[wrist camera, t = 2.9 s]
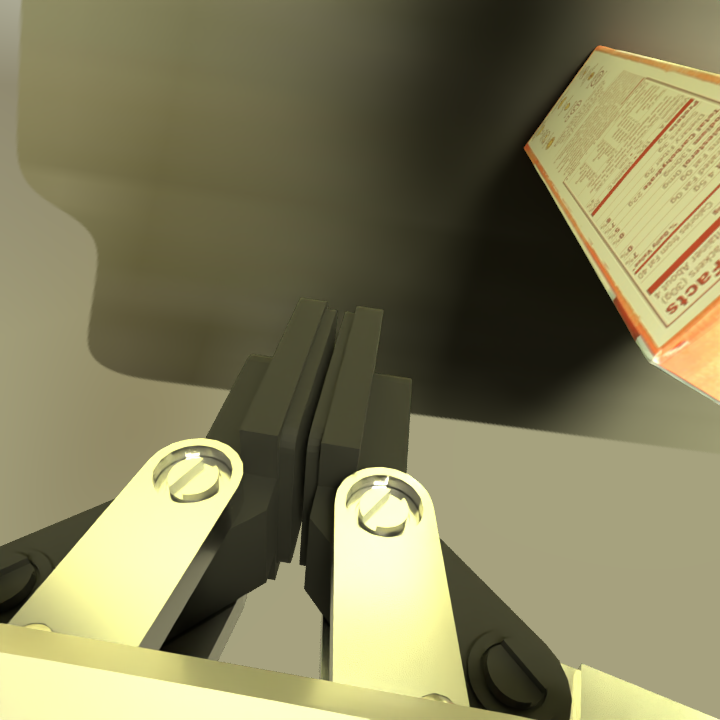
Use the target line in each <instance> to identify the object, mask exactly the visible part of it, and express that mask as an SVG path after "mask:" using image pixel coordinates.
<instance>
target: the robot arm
mask: <svg viewBox="0 0 720 720" xmlns="http://www.w3.org/2000/svg"><path fill="white" fill-rule="evenodd" d="M382 317H383V310H381V309H374V308H367V307H361V306H357V307H356V311H355V313H353V312H345V314H344V317H343V321H342V324H341V327H340V331H339V334H338V338H337V341H336V345H335V336H336V325H337V310H333V309H328V302H327V301H321V300H314V299H307V298H300V300H299V302H298V304H297V306H296V308H295V310H294V313H293V315H292V317H291V319H290V321H289V323H288V326H287V328H286V330H285V332H284V334H283V336H282V339H281V341H280V343H279V345H278V347H277V350H276V352H275V354H274V356H273V357H269V356H262V355H256V354H252V355H250V356H249V358H248V359H247V361H246V363H245V365H244V366H243V368H242V370H241V372H240V374H239V376H238V378H237V380H236V382H235V383H234V385H233V387H232V389H231V391H230V393H229V395H228V397H227V399H226V400H225V402H224V404H223V406H222V408H221V410H220V412H219V414H218V416H217V417H216V420H215V421H214V423H213V425H212V427H211V429H210V431H209V433H208V434H207V436H206V438H205V439H204V438H200V439H187V440H183V441H180V442H176V443H173V444H171V445H169V446H167V447H165V448H163V449H162V450H159V451H158V452H157V453H156V454H155V455H154V456H153V457H152V458H150V459H149V460H148V462H147V463H146V464H145V465H144V466H143V467H142V468H141V470H140V471H139V472H138V473H137V474H136V475H135V477H134V478H133V479H132V480H131V481H130V482H129V483H128V485H127V486H126V487H125V488H124V489H123V490H122V492H121V493H120V494H119V495H118V496H117V497H116V499H113V500H111V501H108V502H106V503H104V504H101V505H99V506H96V507H94V508H92V509H89V510H87V511H84V512H82V513H80V514H77V515H75V516H72V517H70V518H68V519H65V520H63V521H60V522H58V523H55V524H53V525H51V526H48V527H46V528H43V529H41V530H39V531H37V532H34V533H31V534H29V535H27V536H24V537H22V538H20V539H17V540H15V541H12V542H10V543H7V544H5V545H3V546H0V720H719V719H717V718H715V717H712V716H710V715H707V714H704V713H702V712H700V711H697V710H695V709H692V708H690V707H688V706H685V705H682V704H680V703H678V702H675V701H673V700H670V699H668V698H665V697H663V696H660V695H658V694H655V693H653V692H650V691H648V690H646V689H643V688H641V687H638V686H636V685H633V684H631V683H628V682H626V681H623V680H621V679H618V678H616V677H614V676H611V675H609V674H606V673H604V672H601V671H599V670H596V669H594V668H592V667H589V666H587V665H584V664H581V665H580V666H579V668H578V669H575V668H572V667H569V666H567V665H565V664H562V663H560V662H559V660H558V659H557V658H556V656H555V655H554V654H553V653H552V651H551V650H550V649H549V648H548V646H547V645H546V644H545V643H544V642H543V641H542V640H541V639H540V638H539V637H538V636H537V635H536V634H535V633H534V632H533V631H532V630H531V629H530V628H529V627H528V626H527V625H526V624H525V623H524V622H523V621H522V620H521V619H520V618H519V617H518V616H517V615H516V614H515V613H514V612H513V611H512V610H511V609H510V608H509V607H508V606H507V605H506V604H505V603H504V602H503V601H502V600H501V599H500V598H499V597H498V596H497V595H496V594H495V593H494V592H493V591H492V590H491V589H490V588H489V587H488V586H487V585H486V584H485V583H484V582H483V581H482V580H481V579H480V578H479V577H478V576H477V575H476V574H475V573H474V572H473V571H472V570H471V569H470V568H469V567H468V566H467V565H466V564H465V563H464V562H463V561H462V560H461V559H460V558H459V557H458V556H457V555H456V554H455V553H454V552H453V551H452V550H451V549H450V548H449V547H448V546H447V545H446V544H445V543H444V542H443V541H442V540H441V539H440V538H439V534H438V529H437V523H436V517H435V512H434V506H433V503H432V501H431V498H430V495H429V494H428V492H427V491H426V490H425V488H424V487H423V486H422V485H421V484H420V483H419V482H418V481H416V480H415V479H414V478H412V477H411V476H410V475H408V474H406V470H407V454H408V438H409V422H410V407H411V390H412V379H411V378H404V377H398V376H392V375H385V374H379V373H374V371H375V365H376V358H377V351H378V344H379V338H380V331H381V324H382ZM334 347H335V348H334ZM301 522H302V531H301V548H300V565H304V566H306V572H305V586H304V589H305V591H306V592H307V593H308V595H309V596H310V598H311V599H312V600H313V602H314V603H315V604H316V606H317V607H318V609H319V610H320V612H321V613H322V618H321V639H320V670H319V673H320V674H319V679H314V678H308V677H303V676H297V675H292V674H286V673H280V672H275V671H269V670H264V669H258V668H252V667H247V666H241V665H236V664H231V663H225V662H219V661H218V660H219V658H220V655H221V654H222V652H223V650H224V648H225V645H226V643H227V641H228V639H229V637H230V635H231V633H232V631H233V629H234V627H235V625H236V623H237V621H238V618H239V617H240V614H241V613H242V610H243V608H244V605H245V602H246V599H247V593H249V592H251V591H252V590H254V589H256V588H257V587H259V586H261V585H262V584H264V583H266V581H267V579H272V580H275V578H276V575H277V571H278V567H279V564H280V562H286V563H291V560H292V557H293V553H294V550H295V546H296V542H297V538H298V534H299V530H300V526H301Z"/></svg>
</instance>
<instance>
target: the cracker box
mask: <svg viewBox="0 0 720 720" xmlns="http://www.w3.org/2000/svg"><path fill="white" fill-rule="evenodd" d="M524 150H525V151H526V153H527V154H528V156H529V158H530V159H531V161H532V163H533V165H534V167H535V168H536V170H537V172H538V173H539V175H540V177H541V178H542V180H543V182H544V183H545V185H546V187H547V189H548V190H549V192H550V194H551V196H552V197H553V199H554V201H555V203H556V204H557V206H558V208H559V209H560V211H561V213H562V215H563V216H564V218H565V220H566V222H567V223H568V225H569V227H570V228H571V230H572V232H573V234H574V235H575V237H576V239H577V240H578V242H579V244H580V246H581V247H582V249H583V251H584V252H585V254H586V256H587V258H588V259H589V261H590V263H591V265H592V266H593V268H594V270H595V272H596V273H597V275H598V277H599V279H600V281H601V282H602V284H603V286H604V288H605V289H606V291H607V293H608V294H609V296H610V298H611V300H612V301H613V303H614V305H615V307H616V308H617V310H618V312H619V314H620V315H621V317H622V319H623V320H624V322H625V324H626V326H627V328H628V330H629V331H630V333H631V335H632V337H633V339H634V341H635V342H636V343H637V345H638V346H639V348H640V349H641V351H642V353H643V355H644V356H645V358H646V360H647V361H648V362H649V363H650V364H652V365H654V366H655V367H657V368H658V369H660V370H662V371H663V372H665V373H667V374H668V375H670V376H672V377H673V378H675V379H677V380H678V381H680V382H682V383H684V384H685V385H687V386H689V387H690V388H692V389H694V390H695V391H697V392H699V393H700V394H702V395H704V396H706V397H707V398H709V399H711V400H712V401H714V402H716V403H717V404H719V405H720V74H715V73H711V72H707V71H703V70H699V69H695V68H691V67H687V66H683V65H679V64H675V63H671V62H667V61H663V60H659V59H655V58H650V57H646V56H642V55H638V54H634V53H630V52H625V51H621V50H614V49H612V48H609V47H605V46H597V47H596V48H595V50H594V51H593V52H592V54H591V55H590V57H589V58H588V60H587V61H586V62H585V64H584V65H583V66H582V68H581V69H580V70H579V72H578V73H577V74H576V76H575V77H574V79H573V80H572V81H571V83H570V84H569V86H568V87H567V88H566V90H565V91H564V93H563V94H562V95H561V97H560V98H559V100H558V101H557V102H556V104H555V105H554V107H553V108H552V109H551V111H550V112H549V114H548V115H547V116H546V118H545V119H544V121H543V122H542V123H541V125H540V126H539V127H538V129H537V130H536V132H535V133H534V134H533V136H532V137H531V139H530V140H529V141H528V143H527V144H526V145H525V147H524Z"/></svg>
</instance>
